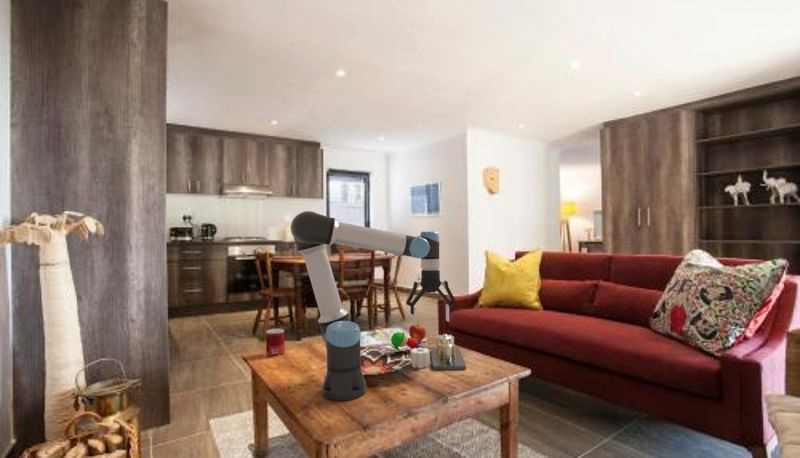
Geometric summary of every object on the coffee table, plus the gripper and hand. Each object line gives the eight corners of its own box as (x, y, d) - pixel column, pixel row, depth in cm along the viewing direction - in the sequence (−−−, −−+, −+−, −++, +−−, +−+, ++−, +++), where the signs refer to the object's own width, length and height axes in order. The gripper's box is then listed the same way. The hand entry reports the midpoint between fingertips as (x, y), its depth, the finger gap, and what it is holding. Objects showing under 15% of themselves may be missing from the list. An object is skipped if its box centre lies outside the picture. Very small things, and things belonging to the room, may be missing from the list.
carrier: (433, 369, 161) (432, 348, 161) (430, 350, 186) (430, 332, 186) (466, 369, 160) (465, 348, 160) (458, 350, 185) (458, 332, 185)
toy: (412, 355, 191) (386, 342, 187) (420, 340, 192) (394, 326, 188) (418, 361, 182) (391, 347, 179) (426, 345, 184) (399, 330, 180)
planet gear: (411, 368, 163) (410, 353, 163) (411, 361, 171) (410, 347, 171) (430, 368, 163) (430, 353, 163) (429, 361, 171) (429, 347, 171)
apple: (418, 338, 208) (418, 318, 208) (428, 341, 201) (428, 321, 201) (406, 341, 203) (405, 321, 203) (416, 344, 196) (415, 324, 196)
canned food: (288, 353, 186) (287, 329, 186) (274, 358, 180) (273, 333, 180) (276, 351, 190) (276, 327, 190) (262, 355, 184) (262, 331, 184)
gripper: (401, 271, 159) (401, 325, 159) (462, 269, 162) (463, 322, 162) (398, 269, 166) (399, 320, 166) (457, 267, 169) (458, 318, 169)
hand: (431, 321), depth 164 cm, fingers open, 13 cm apart
